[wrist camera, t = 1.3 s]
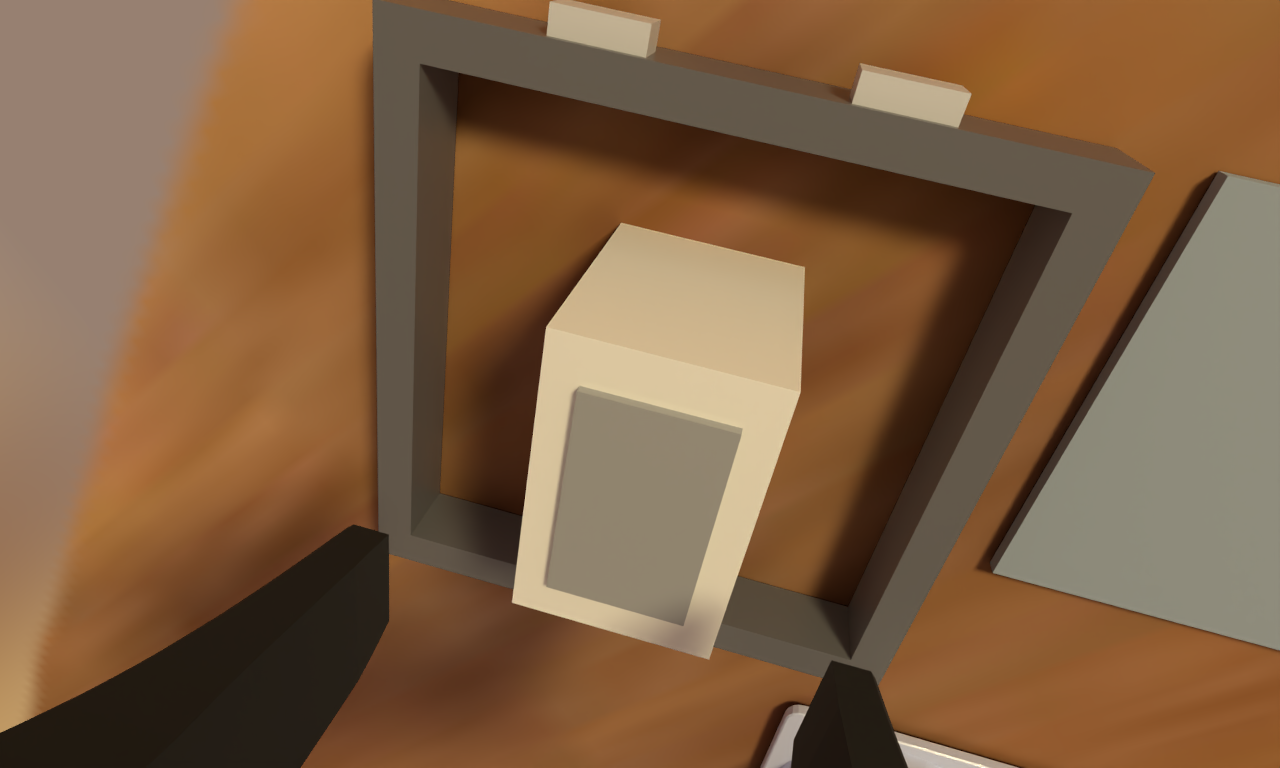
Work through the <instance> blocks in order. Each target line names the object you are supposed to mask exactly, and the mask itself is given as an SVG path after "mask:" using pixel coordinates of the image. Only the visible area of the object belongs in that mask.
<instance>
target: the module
mask: <svg viewBox="0 0 1280 768" xmlns="http://www.w3.org/2000/svg"><path fill="white" fill-rule="evenodd" d="M804 276H805V267H802V266H798V265H793V264H789V263H785V262H781V261H777V260H773V259H769V258H765V257H760V256H756V255H752V254H748V253H744V252H740V251H736V250H731V249H727V248H723V247H719V246H715V245H711V244H707V243H703V242H698V241H694V240H690V239H686V238H682V237H678V236H674V235H670V234H665V233H661V232H657V231H653V230H649V229H645V228H641V227H637V226H632V225H628V224H624V223H621V224H620V225H619V227H618V228H617V229H616V231H615V232H614V234H613V235H612V236H611V238H610V239H609V240H608V242H607V243H606V245H605V246H604V247H603V249H602V250H601V252H600V253H599V254H598V256H597V257H596V259H595V260H594V261H593V263H592V264H591V265H590V267H589V268H588V270H587V271H586V272H585V274H584V275H583V277H582V278H581V279H580V281H579V282H578V283H577V285H576V286H575V288H574V289H573V290H572V292H571V293H570V295H569V296H568V297H567V299H566V300H565V302H564V303H563V304H562V306H561V307H560V308H559V310H558V311H557V313H556V314H555V315H554V317H553V318H552V320H551V321H550V322H549V324H548V325H547V326H546V332H545V341H544V349H543V357H542V365H541V373H540V381H539V389H538V397H537V405H536V413H535V421H534V429H533V437H532V445H531V453H530V462H529V470H528V478H527V486H526V494H525V502H524V510H523V518H522V526H521V534H520V542H519V550H518V558H517V566H516V575H515V583H514V591H513V599H512V603H515V604H518V605H522V606H525V607H529V608H532V609H536V610H539V611H543V612H546V613H549V614H553V615H556V616H560V617H563V618H567V619H570V620H574V621H577V622H581V623H584V624H588V625H591V626H594V627H598V628H601V629H605V630H608V631H612V632H615V633H619V634H622V635H626V636H629V637H633V638H636V639H639V640H643V641H646V642H650V643H653V644H657V645H660V646H664V647H667V648H671V649H674V650H677V651H681V652H684V653H688V654H691V655H695V656H698V657H702V658H705V659H709V657H710V655H711V652H712V649H713V646H714V643H715V640H716V637H717V634H718V631H719V628H720V625H721V623H722V620H723V617H724V614H725V611H726V608H727V605H728V602H729V599H730V596H731V593H732V590H733V588H734V585H735V582H736V579H737V576H738V573H739V570H740V567H741V564H742V561H743V558H744V555H745V553H746V550H747V547H748V544H749V541H750V538H751V535H752V532H753V529H754V526H755V523H756V520H757V518H758V515H759V512H760V509H761V506H762V503H763V500H764V497H765V494H766V491H767V488H768V486H769V483H770V480H771V477H772V474H773V471H774V468H775V465H776V462H777V459H778V456H779V453H780V451H781V448H782V445H783V442H784V439H785V436H786V433H787V430H788V427H789V424H790V421H791V418H792V416H793V413H794V410H795V407H796V404H797V401H798V398H799V395H800V392H801V364H802V334H803V305H804Z"/></svg>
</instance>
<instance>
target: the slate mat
mask: <svg viewBox="0 0 1280 768" xmlns="http://www.w3.org/2000/svg"><path fill="white" fill-rule="evenodd" d="M990 565H991V569H992V572H993V573H995V574H999V575H1002V576H1006V577H1010V578H1014V579H1017V580H1021V581H1025V582H1028V583H1032V584H1036V585H1040V586H1043V587H1047V588H1051V589H1054V590H1058V591H1062V592H1065V593H1069V594H1073V595H1077V596H1080V597H1084V598H1088V599H1091V600H1095V601H1099V602H1102V603H1106V604H1110V605H1114V606H1117V607H1121V608H1125V609H1128V610H1132V611H1136V612H1139V613H1143V614H1147V615H1151V616H1154V617H1158V618H1162V619H1165V620H1169V621H1173V622H1177V623H1180V624H1184V625H1188V626H1191V627H1195V628H1199V629H1202V630H1206V631H1210V632H1214V633H1217V634H1221V635H1225V636H1228V637H1232V638H1236V639H1239V640H1243V641H1247V642H1251V643H1254V644H1258V645H1262V646H1265V647H1269V648H1273V649H1276V650H1280V184H1276V183H1271V182H1267V181H1262V180H1258V179H1253V178H1249V177H1244V176H1239V175H1235V174H1230V173H1226V172H1221V171H1218V173H1217V175H1216V176H1215V178H1214V180H1213V181H1212V183H1211V185H1210V187H1209V188H1208V190H1207V192H1206V193H1205V195H1204V197H1203V199H1202V200H1201V202H1200V204H1199V205H1198V207H1197V209H1196V211H1195V212H1194V214H1193V216H1192V217H1191V219H1190V221H1189V223H1188V224H1187V226H1186V228H1185V229H1184V231H1183V233H1182V235H1181V236H1180V238H1179V240H1178V241H1177V243H1176V245H1175V247H1174V248H1173V250H1172V252H1171V253H1170V255H1169V257H1168V258H1167V260H1166V262H1165V264H1164V265H1163V267H1162V269H1161V270H1160V272H1159V274H1158V276H1157V277H1156V279H1155V281H1154V282H1153V284H1152V286H1151V288H1150V289H1149V291H1148V293H1147V294H1146V296H1145V298H1144V300H1143V301H1142V303H1141V305H1140V306H1139V308H1138V310H1137V312H1136V313H1135V315H1134V317H1133V318H1132V320H1131V322H1130V324H1129V325H1128V327H1127V329H1126V330H1125V332H1124V334H1123V335H1122V337H1121V339H1120V341H1119V342H1118V344H1117V346H1116V347H1115V349H1114V351H1113V353H1112V354H1111V356H1110V358H1109V359H1108V361H1107V363H1106V365H1105V366H1104V368H1103V370H1102V371H1101V373H1100V375H1099V377H1098V378H1097V380H1096V382H1095V383H1094V385H1093V387H1092V389H1091V390H1090V392H1089V394H1088V395H1087V397H1086V399H1085V401H1084V402H1083V404H1082V406H1081V407H1080V409H1079V411H1078V412H1077V414H1076V416H1075V418H1074V419H1073V421H1072V423H1071V424H1070V426H1069V428H1068V430H1067V431H1066V433H1065V435H1064V436H1063V438H1062V440H1061V442H1060V443H1059V445H1058V447H1057V448H1056V450H1055V452H1054V454H1053V455H1052V457H1051V459H1050V460H1049V462H1048V464H1047V466H1046V467H1045V469H1044V471H1043V472H1042V474H1041V476H1040V478H1039V479H1038V481H1037V483H1036V484H1035V486H1034V488H1033V489H1032V491H1031V493H1030V495H1029V496H1028V498H1027V500H1026V501H1025V503H1024V505H1023V507H1022V508H1021V510H1020V512H1019V513H1018V515H1017V517H1016V519H1015V520H1014V522H1013V524H1012V525H1011V527H1010V529H1009V531H1008V532H1007V534H1006V536H1005V537H1004V539H1003V541H1002V543H1001V544H1000V546H999V548H998V549H997V551H996V553H995V555H994V556H993V558H992V560H991V561H990Z"/></svg>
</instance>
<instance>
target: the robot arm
mask: <svg viewBox="0 0 1280 768" xmlns="http://www.w3.org/2000/svg"><path fill="white" fill-rule="evenodd" d="M388 622H389V534H385V533H382V532H378V531H375V530H371V529H368V528H364V527H361V526H357V525H352V526H350V527H348V528H346V529H345V530H343V531H342V532H341V533H339V534H338V535H336V536H335V537H333V538H332V539H331V540H329V541H328V542H326V543H325V544H324V545H322V546H321V547H319V548H318V549H317V550H315V551H314V552H312V553H311V554H310V555H308V556H307V557H305V558H304V559H302V560H301V561H300V562H298V563H297V564H295V565H294V566H292V567H291V568H290V569H288V570H287V571H285V572H284V573H282V574H281V575H279V576H278V577H276V578H275V579H274V580H272V581H271V582H269V583H268V584H266V585H265V586H263V587H262V588H260V589H259V590H257V591H256V592H254V593H253V594H251V595H250V596H248V597H247V598H245V599H244V600H242V601H241V602H239V603H237V604H236V605H234V606H233V607H231V608H230V609H228V610H227V611H225V612H224V613H222V614H221V615H219V616H217V617H216V618H214V619H213V620H211V621H209V622H208V623H206V624H204V625H203V626H201V627H200V628H198V629H196V630H195V631H193V632H191V633H190V634H188V635H186V636H185V637H183V638H181V639H180V640H178V641H176V642H175V643H173V644H172V645H170V646H168V647H167V648H165V649H163V650H162V651H160V652H158V653H156V654H155V655H153V656H151V657H149V658H148V659H146V660H144V661H142V662H140V663H139V664H137V665H135V666H133V667H132V668H130V669H128V670H126V671H124V672H122V673H121V674H119V675H117V676H115V677H113V678H111V679H109V680H107V681H106V682H104V683H102V684H100V685H98V686H96V687H94V688H92V689H90V690H88V691H86V692H85V693H83V694H81V695H79V696H77V697H75V698H73V699H71V700H68V701H66V702H64V703H62V704H60V705H58V706H56V707H54V708H52V709H50V710H48V711H46V712H44V713H42V714H39V715H37V716H35V717H33V718H31V719H29V720H27V721H25V722H23V723H21V724H19V725H16V726H14V727H12V728H10V729H8V730H6V731H4V732H1V733H0V768H301V766H302V765H303V763H304V762H305V760H306V759H307V757H308V756H309V754H310V753H311V751H312V750H313V748H314V747H315V745H316V744H317V742H318V741H319V739H320V738H321V736H322V735H323V733H324V732H325V730H326V729H327V727H328V726H329V724H330V723H331V721H332V720H333V718H334V717H335V715H336V714H337V712H338V711H339V709H340V708H341V706H342V705H343V703H344V702H345V700H346V698H347V697H348V695H349V694H350V692H351V691H352V689H353V688H354V686H355V685H356V683H357V682H358V680H359V678H360V676H361V675H362V673H363V671H364V669H365V667H366V665H367V663H368V661H369V659H370V657H371V656H372V654H373V652H374V650H375V648H376V646H377V644H378V642H379V640H380V638H381V636H382V634H383V632H384V630H385V628H386V626H387V624H388ZM760 768H1018V767H1015V766H1012V765H1008V764H1005V763H1001V762H998V761H994V760H991V759H987V758H984V757H981V756H977V755H974V754H970V753H967V752H963V751H960V750H956V749H953V748H950V747H946V746H943V745H939V744H936V743H932V742H929V741H925V740H922V739H919V738H915V737H912V736H908V735H905V734H901V733H898V732H894V729H893V727H892V724H891V721H890V719H889V716H888V713H887V710H886V707H885V705H884V702H883V699H882V696H881V693H880V690H879V687H878V684H877V681H876V679H875V677H874V675H873V674H872V672H871V671H868V670H865V669H861V668H858V667H854V666H850V665H847V664H843V663H840V662H836V661H833V660H831V662H830V664H829V666H828V668H827V670H826V673H825V675H824V677H823V679H822V681H821V683H820V685H819V687H818V689H817V692H816V694H815V696H814V698H813V700H812V702H811V704H810V706H809V707H808V706H805V705H793V706H791V707H788V709H787V710H786V711H785V713H784V716H783V718H782V720H781V722H780V724H779V727H778V729H777V731H776V733H775V736H774V738H773V740H772V742H771V744H770V747H769V749H768V751H767V753H766V756H765V758H764V760H763V762H762V764H761V767H760Z"/></svg>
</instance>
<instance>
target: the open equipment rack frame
mask: <svg viewBox="0 0 1280 768" xmlns="http://www.w3.org/2000/svg"><path fill="white" fill-rule="evenodd" d="M660 22H661V20H660V19H655V18H651V17H646V16H641V15H637V14H632V13H628V12H623V11H619V10H614V9H609V8H605V7H600V6H596V5H591V4H586V3H582V2H577V1H573V0H556V1H550V6H549V16H548V22H544V21H539V20H535V19H530V18H526V17H521V16H517V15H512V14H508V13H503V12H499V11H494V10H490V9H485V8H481V7H476V6H472V5H467V4H463V3H458V2H454V1H449V0H373V83H374V173H375V262H376V351H377V440H378V529H379V532H382V533H385V534H389V554H392V555H395V556H399V557H402V558H406V559H409V560H413V561H416V562H420V563H423V564H427V565H430V566H434V567H437V568H441V569H444V570H448V571H451V572H455V573H458V574H462V575H465V576H468V577H472V578H475V579H479V580H482V581H486V582H489V583H493V584H496V585H500V586H503V587H507V588H510V589H514V583H515V575H516V566H517V558H518V550H519V542H520V534H521V526H522V518H523V516H520V515H516V514H512V513H509V512H505V511H502V510H498V509H494V508H491V507H487V506H484V505H480V504H476V503H473V502H469V501H466V500H462V499H458V498H455V497H451V496H448V495H444V494H440V476H441V454H442V432H443V409H444V387H445V365H446V343H447V321H448V298H449V276H450V254H451V232H452V210H453V187H454V165H455V143H456V121H457V99H458V76H459V73H463V74H467V75H471V76H476V77H480V78H485V79H489V80H493V81H498V82H502V83H506V84H511V85H515V86H519V87H524V88H528V89H533V90H537V91H541V92H546V93H550V94H554V95H559V96H563V97H567V98H572V99H576V100H580V101H585V102H589V103H594V104H598V105H602V106H607V107H611V108H615V109H620V110H624V111H628V112H633V113H637V114H641V115H646V116H650V117H655V118H659V119H663V120H668V121H672V122H676V123H681V124H685V125H689V126H694V127H698V128H703V129H707V130H711V131H716V132H720V133H724V134H729V135H733V136H737V137H742V138H746V139H750V140H755V141H759V142H764V143H768V144H772V145H777V146H781V147H785V148H790V149H794V150H798V151H803V152H807V153H811V154H816V155H820V156H825V157H829V158H833V159H838V160H842V161H846V162H851V163H855V164H859V165H864V166H868V167H872V168H877V169H881V170H886V171H890V172H894V173H899V174H903V175H907V176H912V177H916V178H920V179H925V180H929V181H934V182H938V183H942V184H947V185H951V186H955V187H960V188H964V189H968V190H973V191H977V192H981V193H986V194H990V195H995V196H999V197H1003V198H1008V199H1012V200H1016V201H1021V202H1025V203H1029V204H1034V205H1035V207H1034V209H1033V211H1032V213H1031V216H1030V218H1029V220H1028V222H1027V224H1026V226H1025V228H1024V231H1023V233H1022V235H1021V237H1020V239H1019V241H1018V243H1017V246H1016V248H1015V250H1014V252H1013V254H1012V256H1011V258H1010V261H1009V263H1008V265H1007V267H1006V269H1005V271H1004V273H1003V276H1002V278H1001V280H1000V282H999V284H998V286H997V288H996V291H995V293H994V295H993V297H992V299H991V301H990V303H989V306H988V308H987V310H986V312H985V314H984V316H983V318H982V321H981V323H980V325H979V327H978V329H977V331H976V333H975V336H974V338H973V340H972V342H971V344H970V346H969V348H968V351H967V353H966V355H965V357H964V359H963V361H962V363H961V366H960V368H959V370H958V372H957V374H956V376H955V378H954V381H953V383H952V385H951V387H950V389H949V391H948V394H947V396H946V398H945V400H944V402H943V404H942V406H941V409H940V411H939V413H938V415H937V417H936V419H935V421H934V424H933V426H932V428H931V430H930V432H929V434H928V436H927V439H926V441H925V443H924V445H923V447H922V449H921V451H920V454H919V456H918V458H917V460H916V462H915V464H914V466H913V469H912V471H911V473H910V475H909V477H908V479H907V481H906V484H905V486H904V488H903V490H902V492H901V494H900V496H899V499H898V501H897V503H896V505H895V507H894V509H893V511H892V514H891V516H890V518H889V520H888V522H887V524H886V526H885V529H884V531H883V533H882V535H881V537H880V539H879V541H878V544H877V546H876V548H875V550H874V552H873V554H872V556H871V559H870V561H869V563H868V565H867V567H866V569H865V571H864V574H863V576H862V578H861V580H860V582H859V584H858V587H857V589H856V591H855V593H854V595H853V597H852V599H851V602H850V604H849V606H848V607H847V606H843V605H840V604H836V603H832V602H829V601H825V600H822V599H818V598H814V597H811V596H807V595H804V594H800V593H796V592H793V591H789V590H786V589H782V588H778V587H775V586H771V585H768V584H764V583H760V582H757V581H753V580H750V579H746V578H742V577H739V576H737V579H736V582H735V585H734V588H733V590H732V593H731V596H730V599H729V602H728V605H727V608H726V611H725V614H724V617H723V620H722V623H721V625H720V628H719V631H718V634H717V637H716V640H715V643H714V646H713V647H716V648H720V649H723V650H727V651H730V652H734V653H737V654H741V655H744V656H748V657H751V658H755V659H758V660H762V661H765V662H769V663H772V664H775V665H779V666H782V667H786V668H789V669H793V670H796V671H800V672H803V673H807V674H810V675H814V676H817V677H821V678H823V677H824V675H825V673H826V670H827V668H828V666H829V664H830V662H831V660H833V661H836V662H840V663H843V664H847V665H850V666H854V667H858V668H861V669H865V670H868V671H871V672H872V674H873V675H874V677H875V679H876V681H877V684H878V685H879V683H880V681H881V679H882V678H883V676H884V674H885V672H886V670H887V668H888V666H889V665H890V663H891V661H892V659H893V657H894V655H895V654H896V652H897V650H898V648H899V646H900V644H901V642H902V641H903V639H904V637H905V635H906V633H907V631H908V629H909V628H910V626H911V624H912V622H913V620H914V618H915V617H916V615H917V613H918V611H919V609H920V607H921V605H922V604H923V602H924V600H925V598H926V596H927V594H928V592H929V591H930V589H931V587H932V585H933V583H934V581H935V580H936V578H937V576H938V574H939V572H940V570H941V568H942V567H943V565H944V563H945V561H946V559H947V557H948V555H949V554H950V552H951V550H952V548H953V546H954V544H955V543H956V541H957V539H958V537H959V535H960V533H961V531H962V530H963V528H964V526H965V524H966V522H967V520H968V518H969V517H970V515H971V513H972V511H973V509H974V507H975V506H976V504H977V502H978V500H979V498H980V496H981V494H982V493H983V491H984V489H985V487H986V485H987V483H988V481H989V480H990V478H991V476H992V474H993V472H994V470H995V468H996V467H997V465H998V463H999V461H1000V459H1001V457H1002V456H1003V454H1004V452H1005V450H1006V448H1007V446H1008V444H1009V443H1010V441H1011V439H1012V437H1013V435H1014V433H1015V431H1016V430H1017V428H1018V426H1019V424H1020V422H1021V420H1022V419H1023V417H1024V415H1025V413H1026V411H1027V409H1028V407H1029V406H1030V404H1031V402H1032V400H1033V398H1034V396H1035V394H1036V393H1037V391H1038V389H1039V387H1040V385H1041V383H1042V382H1043V380H1044V378H1045V376H1046V374H1047V372H1048V370H1049V369H1050V367H1051V365H1052V363H1053V361H1054V359H1055V357H1056V356H1057V354H1058V352H1059V350H1060V348H1061V346H1062V345H1063V343H1064V341H1065V339H1066V337H1067V335H1068V333H1069V332H1070V330H1071V328H1072V326H1073V324H1074V322H1075V320H1076V319H1077V317H1078V315H1079V313H1080V311H1081V309H1082V308H1083V306H1084V304H1085V302H1086V300H1087V298H1088V296H1089V295H1090V293H1091V291H1092V289H1093V287H1094V285H1095V283H1096V282H1097V280H1098V278H1099V276H1100V274H1101V272H1102V271H1103V269H1104V267H1105V265H1106V263H1107V261H1108V259H1109V258H1110V256H1111V254H1112V252H1113V250H1114V248H1115V246H1116V245H1117V243H1118V241H1119V239H1120V237H1121V235H1122V233H1123V232H1124V230H1125V228H1126V226H1127V224H1128V222H1129V221H1130V219H1131V217H1132V215H1133V213H1134V211H1135V209H1136V208H1137V206H1138V204H1139V202H1140V200H1141V198H1142V196H1143V195H1144V193H1145V191H1146V189H1147V187H1148V185H1149V184H1150V182H1151V180H1152V178H1153V176H1154V174H1155V173H1154V172H1153V171H1151V170H1150V169H1148V168H1147V167H1145V166H1143V165H1142V164H1140V163H1139V162H1137V161H1136V160H1134V159H1133V158H1131V157H1130V156H1128V155H1126V154H1125V153H1123V152H1122V151H1120V150H1119V149H1117V148H1113V147H1109V146H1104V145H1099V144H1095V143H1090V142H1086V141H1081V140H1077V139H1072V138H1068V137H1063V136H1059V135H1054V134H1050V133H1045V132H1041V131H1036V130H1032V129H1027V128H1023V127H1018V126H1014V125H1009V124H1005V123H1000V122H996V121H991V120H987V119H982V118H978V117H973V116H969V115H964V112H965V109H966V107H967V104H968V101H969V99H970V96H971V93H970V92H969V91H968V90H967V89H966V88H964V87H963V86H962V85H957V84H953V83H948V82H944V81H939V80H935V79H930V78H925V77H921V76H916V75H912V74H907V73H902V72H898V71H893V70H889V69H884V68H880V67H875V66H870V65H866V64H861V63H859V67H858V70H857V73H856V76H855V80H854V83H853V86H852V89H847V88H842V87H838V86H833V85H829V84H824V83H819V82H815V81H810V80H806V79H801V78H797V77H792V76H788V75H783V74H779V73H774V72H770V71H765V70H761V69H756V68H752V67H747V66H743V65H738V64H734V63H729V62H725V61H720V60H716V59H711V58H707V57H702V56H698V55H693V54H689V53H684V52H679V51H675V50H670V49H666V48H661V47H657V40H658V34H659V28H660Z"/></svg>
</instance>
